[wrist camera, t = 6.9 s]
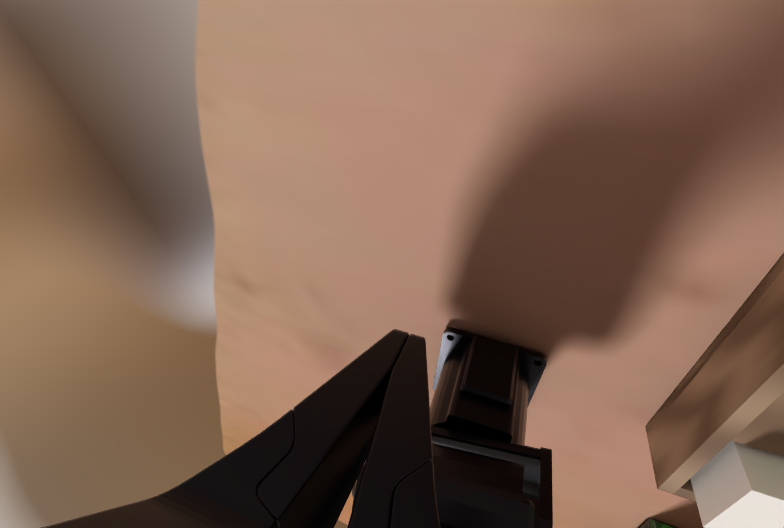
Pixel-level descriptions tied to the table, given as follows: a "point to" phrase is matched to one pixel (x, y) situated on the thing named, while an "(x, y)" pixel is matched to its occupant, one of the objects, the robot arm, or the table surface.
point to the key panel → (726, 393)
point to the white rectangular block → (741, 489)
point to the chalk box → (654, 524)
